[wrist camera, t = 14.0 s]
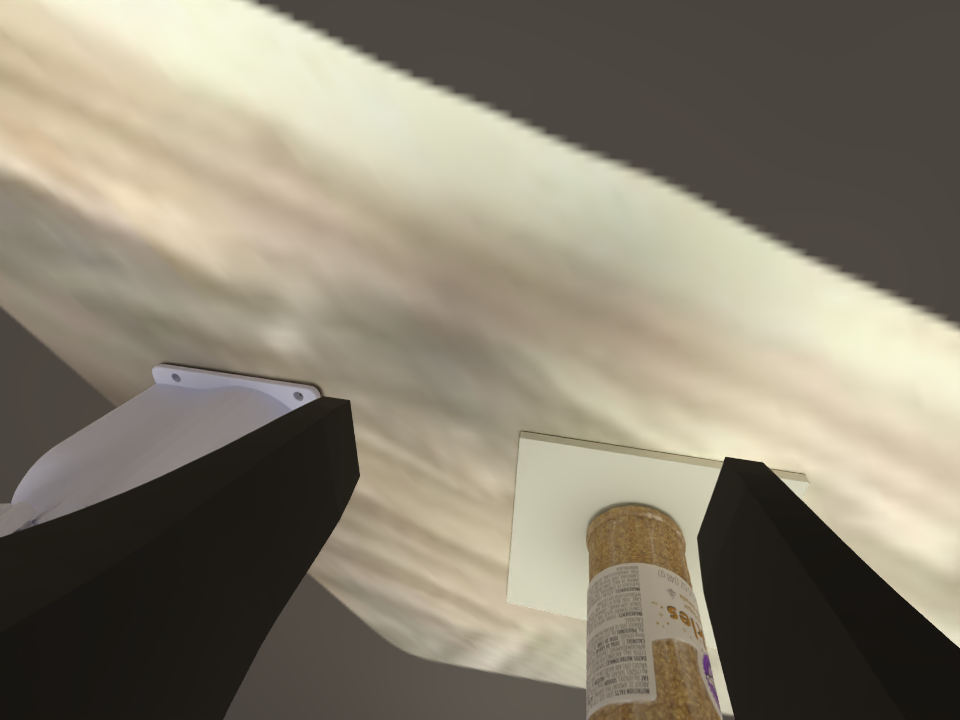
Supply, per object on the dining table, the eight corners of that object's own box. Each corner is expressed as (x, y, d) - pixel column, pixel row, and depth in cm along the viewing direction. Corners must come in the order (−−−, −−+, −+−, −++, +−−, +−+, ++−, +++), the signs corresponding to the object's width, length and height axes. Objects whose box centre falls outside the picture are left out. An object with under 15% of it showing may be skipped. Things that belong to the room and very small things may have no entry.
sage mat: (507, 595, 27) (506, 603, 27) (521, 431, 22) (519, 437, 21) (726, 642, 25) (728, 651, 25) (805, 474, 19) (810, 482, 19)
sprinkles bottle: (702, 551, 22) (835, 1044, 10) (616, 580, 24) (647, 1022, 12) (650, 485, 21) (732, 952, 9) (565, 521, 23) (543, 944, 11)
